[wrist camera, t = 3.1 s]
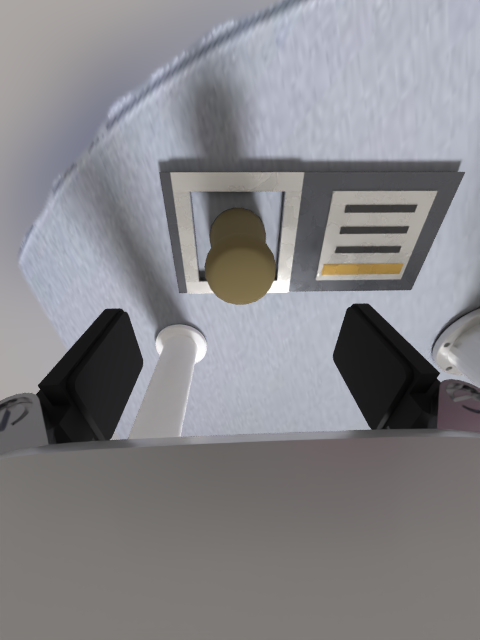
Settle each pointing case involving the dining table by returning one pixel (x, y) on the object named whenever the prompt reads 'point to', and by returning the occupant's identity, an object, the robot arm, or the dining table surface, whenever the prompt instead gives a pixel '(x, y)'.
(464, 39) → the dining table surface
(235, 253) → the cork
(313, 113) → the dining table surface
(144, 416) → the candle
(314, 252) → the panel
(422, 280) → the dining table surface
